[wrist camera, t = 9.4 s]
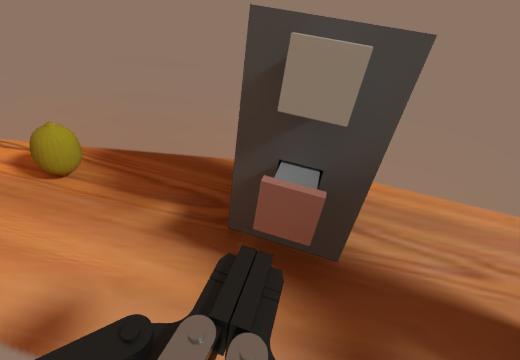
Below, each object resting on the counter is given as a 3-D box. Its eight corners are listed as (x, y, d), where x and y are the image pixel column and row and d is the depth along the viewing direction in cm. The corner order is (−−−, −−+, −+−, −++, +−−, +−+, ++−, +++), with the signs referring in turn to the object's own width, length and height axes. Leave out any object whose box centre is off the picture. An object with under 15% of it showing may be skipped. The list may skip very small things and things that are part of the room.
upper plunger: (347, 126, 20) (373, 47, 17) (277, 110, 21) (291, 32, 18) (347, 98, 28) (365, 39, 25) (295, 87, 29) (307, 29, 26)
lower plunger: (309, 246, 25) (325, 198, 22) (252, 228, 26) (260, 180, 23) (318, 194, 32) (331, 153, 29) (274, 182, 33) (282, 141, 30)
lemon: (34, 173, 38) (14, 119, 34) (78, 162, 42) (65, 112, 37) (48, 191, 35) (28, 135, 31) (93, 177, 39) (81, 125, 35)
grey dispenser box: (337, 261, 32) (437, 35, 19) (227, 227, 34) (250, 4, 21) (340, 204, 42) (406, 30, 29) (254, 181, 44) (281, 10, 31)
